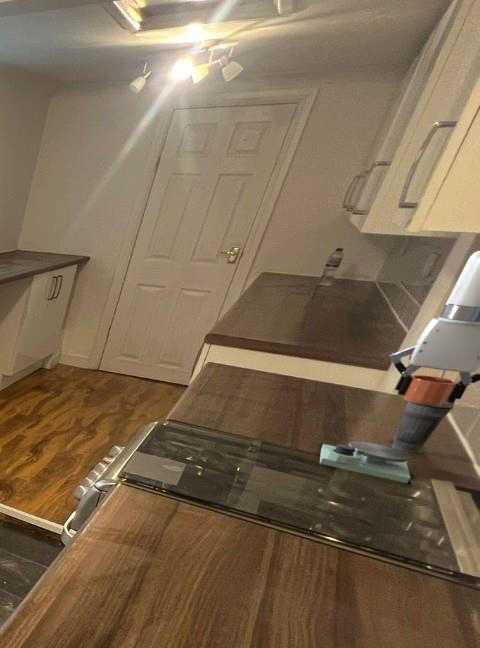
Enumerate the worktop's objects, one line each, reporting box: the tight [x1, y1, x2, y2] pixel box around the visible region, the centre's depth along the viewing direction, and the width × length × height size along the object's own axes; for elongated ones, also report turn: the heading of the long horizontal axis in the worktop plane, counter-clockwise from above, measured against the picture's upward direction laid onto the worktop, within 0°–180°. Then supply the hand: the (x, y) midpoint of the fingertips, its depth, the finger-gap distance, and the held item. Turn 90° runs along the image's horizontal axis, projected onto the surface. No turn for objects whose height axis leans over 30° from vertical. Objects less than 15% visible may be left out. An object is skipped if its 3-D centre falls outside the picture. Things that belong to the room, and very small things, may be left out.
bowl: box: [401, 374, 459, 406], centre depth 126 cm, size 7×7×5 cm
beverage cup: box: [391, 370, 455, 454], centre depth 135 cm, size 7×7×20 cm
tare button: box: [334, 443, 356, 456], centre depth 128 cm, size 3×3×2 cm
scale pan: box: [348, 441, 410, 464], centre depth 129 cm, size 10×10×4 cm
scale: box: [319, 443, 411, 484], centre depth 129 cm, size 14×12×3 cm
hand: (424, 397), depth 126 cm, fingers closed on bowl, 7 cm apart
